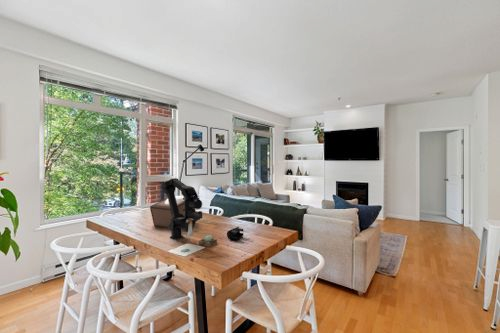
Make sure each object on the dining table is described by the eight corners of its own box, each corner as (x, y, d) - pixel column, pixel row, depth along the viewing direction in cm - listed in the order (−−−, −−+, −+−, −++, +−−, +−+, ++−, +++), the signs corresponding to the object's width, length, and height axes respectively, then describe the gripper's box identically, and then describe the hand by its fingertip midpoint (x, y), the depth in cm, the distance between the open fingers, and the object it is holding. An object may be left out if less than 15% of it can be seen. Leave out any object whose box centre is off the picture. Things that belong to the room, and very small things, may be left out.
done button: (202, 241, 146) (202, 236, 146) (207, 239, 150) (207, 234, 150) (208, 242, 144) (208, 238, 143) (213, 240, 148) (213, 235, 148)
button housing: (198, 244, 146) (198, 240, 146) (207, 240, 152) (207, 237, 152) (208, 246, 141) (208, 242, 141) (217, 243, 148) (217, 239, 148)
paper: (167, 252, 134) (167, 251, 134) (188, 243, 148) (188, 243, 147) (184, 256, 127) (184, 256, 127) (205, 247, 140) (205, 247, 140)
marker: (184, 236, 149) (184, 221, 149) (189, 234, 152) (189, 220, 152) (189, 237, 147) (189, 222, 147) (193, 235, 150) (193, 220, 150)
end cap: (235, 236, 163) (235, 226, 163) (243, 237, 159) (243, 227, 159) (226, 240, 154) (226, 229, 154) (235, 241, 151) (235, 231, 151)
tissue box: (154, 230, 191) (148, 202, 186) (179, 215, 215) (174, 190, 210) (176, 234, 180) (170, 204, 175) (200, 218, 204) (195, 191, 199)
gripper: (187, 211, 137) (187, 237, 137) (208, 206, 153) (208, 230, 153) (173, 209, 143) (174, 235, 143) (195, 204, 159) (196, 227, 159)
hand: (189, 231), depth 149 cm, fingers closed on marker, 4 cm apart
